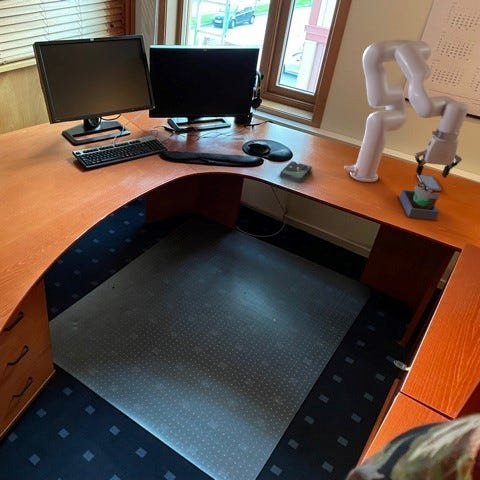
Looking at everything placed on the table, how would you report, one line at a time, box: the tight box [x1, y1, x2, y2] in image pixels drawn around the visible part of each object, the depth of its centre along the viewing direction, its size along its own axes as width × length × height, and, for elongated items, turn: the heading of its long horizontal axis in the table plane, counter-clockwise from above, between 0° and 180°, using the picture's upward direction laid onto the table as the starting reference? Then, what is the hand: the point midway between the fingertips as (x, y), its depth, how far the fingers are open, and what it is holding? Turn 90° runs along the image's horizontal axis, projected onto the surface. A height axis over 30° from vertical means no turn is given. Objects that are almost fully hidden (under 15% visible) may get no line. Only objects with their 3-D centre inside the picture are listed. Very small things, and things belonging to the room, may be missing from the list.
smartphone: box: [416, 173, 442, 192], centre depth 218 cm, size 7×1×15 cm
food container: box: [411, 181, 440, 210], centre depth 196 cm, size 12×6×10 cm, turn 5°
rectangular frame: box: [398, 189, 440, 221], centre depth 198 cm, size 11×17×4 cm, turn 169°
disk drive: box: [279, 160, 313, 183], centre depth 221 cm, size 10×3×15 cm
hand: (431, 175), depth 190 cm, fingers open, 9 cm apart
